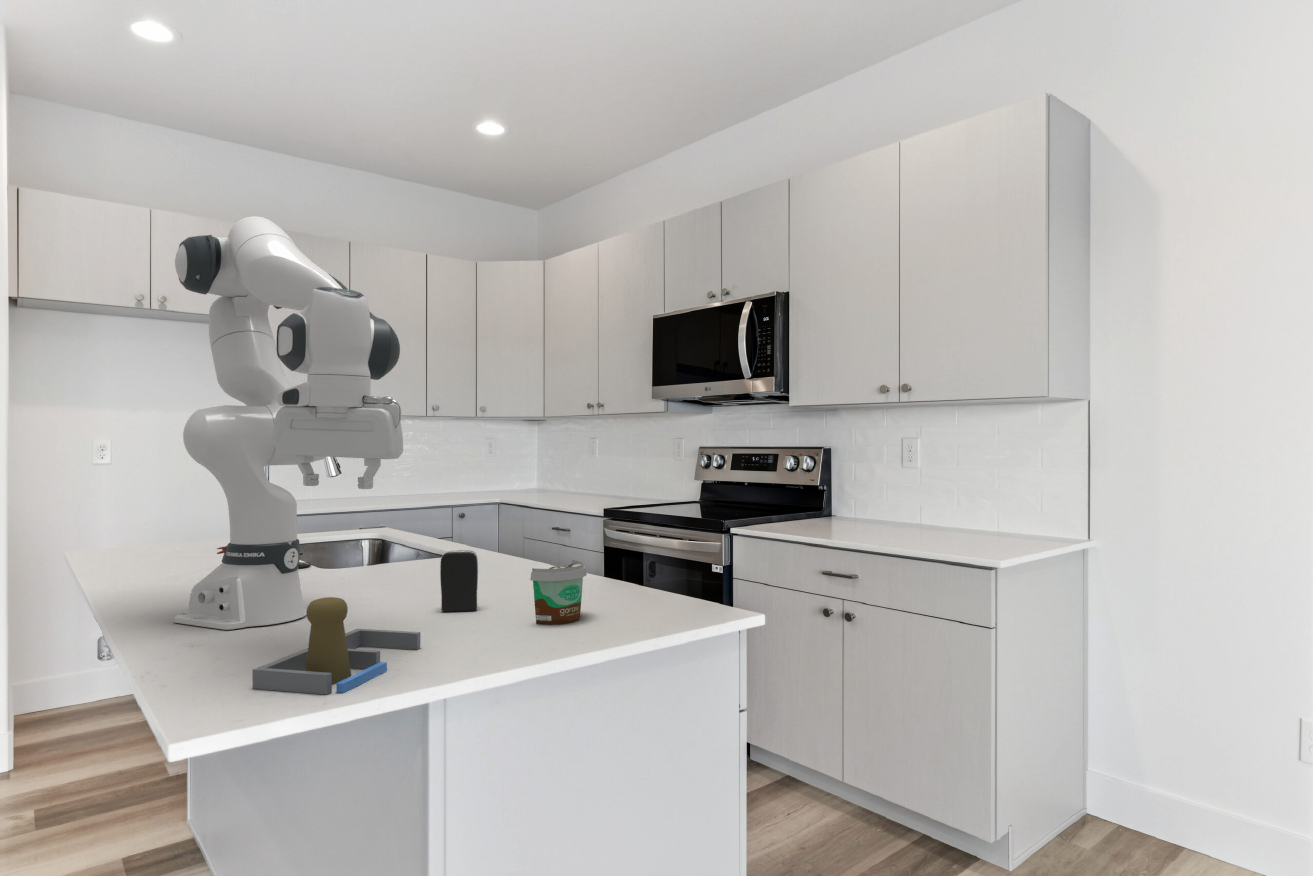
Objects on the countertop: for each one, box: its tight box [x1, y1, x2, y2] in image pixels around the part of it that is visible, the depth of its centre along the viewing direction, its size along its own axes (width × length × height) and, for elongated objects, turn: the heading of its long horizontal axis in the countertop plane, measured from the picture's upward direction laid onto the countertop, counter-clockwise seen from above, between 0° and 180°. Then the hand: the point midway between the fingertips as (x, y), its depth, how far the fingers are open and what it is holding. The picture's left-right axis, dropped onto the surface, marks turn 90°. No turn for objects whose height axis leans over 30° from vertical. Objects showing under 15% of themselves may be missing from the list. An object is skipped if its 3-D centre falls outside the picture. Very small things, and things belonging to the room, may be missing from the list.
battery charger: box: [439, 549, 479, 613], centre depth 152 cm, size 7×4×11 cm, turn 98°
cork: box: [304, 596, 352, 685], centre depth 109 cm, size 6×6×11 cm
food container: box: [529, 559, 588, 626], centre depth 142 cm, size 12×6×10 cm, turn 148°
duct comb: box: [251, 628, 421, 695], centre depth 114 cm, size 13×23×2 cm, turn 166°
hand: (337, 487), depth 120 cm, fingers open, 8 cm apart
